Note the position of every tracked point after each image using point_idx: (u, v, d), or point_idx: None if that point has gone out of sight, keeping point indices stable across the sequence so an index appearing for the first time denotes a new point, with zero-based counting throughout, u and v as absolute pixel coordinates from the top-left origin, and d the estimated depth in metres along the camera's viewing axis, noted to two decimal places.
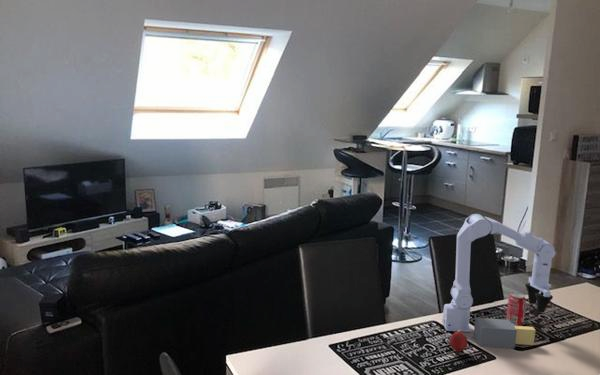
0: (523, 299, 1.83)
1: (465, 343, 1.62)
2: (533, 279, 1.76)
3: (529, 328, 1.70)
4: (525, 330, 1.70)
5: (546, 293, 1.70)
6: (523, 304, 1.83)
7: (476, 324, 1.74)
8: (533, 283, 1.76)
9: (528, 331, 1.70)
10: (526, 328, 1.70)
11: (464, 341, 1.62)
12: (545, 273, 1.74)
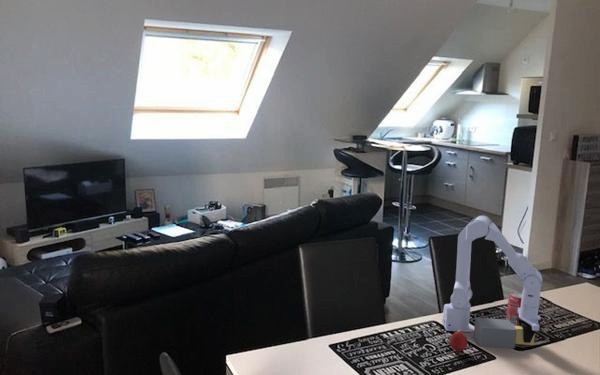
0: None
1: (465, 343, 1.62)
2: (522, 311, 1.69)
3: None
4: None
5: (535, 327, 1.63)
6: None
7: (476, 324, 1.74)
8: (522, 315, 1.69)
9: None
10: None
11: (464, 341, 1.62)
12: (530, 305, 1.66)
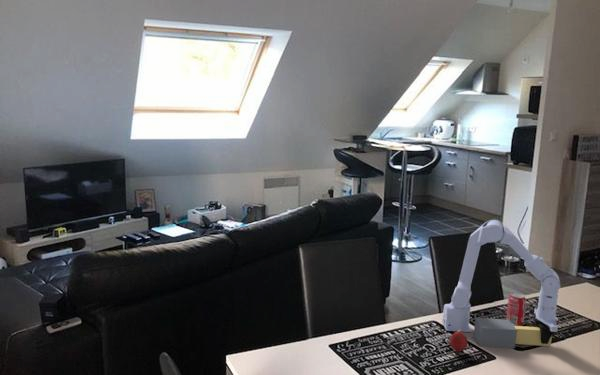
0: (523, 299, 1.83)
1: (465, 343, 1.62)
2: (539, 312, 1.69)
3: None
4: None
5: (553, 328, 1.63)
6: (523, 304, 1.83)
7: (476, 324, 1.74)
8: (539, 316, 1.69)
9: None
10: None
11: (464, 341, 1.62)
12: (549, 306, 1.66)
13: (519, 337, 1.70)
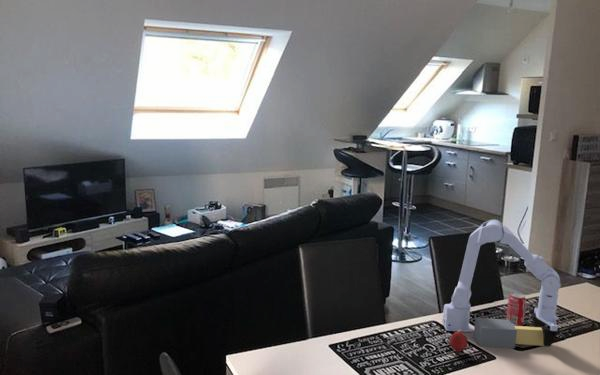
0: (523, 299, 1.83)
1: (465, 343, 1.62)
2: (539, 311, 1.68)
3: None
4: (542, 331, 1.69)
5: (553, 327, 1.62)
6: (523, 304, 1.83)
7: (476, 324, 1.74)
8: (539, 315, 1.68)
9: None
10: None
11: (464, 341, 1.62)
12: (549, 305, 1.66)
13: (519, 337, 1.70)
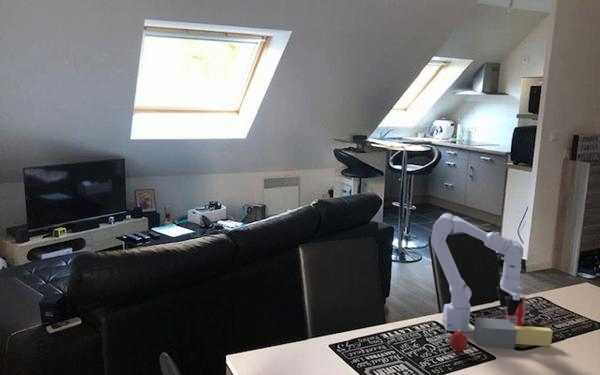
0: (523, 299, 1.83)
1: (465, 343, 1.62)
2: (503, 282, 1.72)
3: (546, 329, 1.70)
4: (542, 331, 1.69)
5: (515, 296, 1.66)
6: (523, 304, 1.83)
7: (476, 324, 1.74)
8: (503, 286, 1.72)
9: (545, 332, 1.69)
10: (543, 329, 1.70)
11: (464, 341, 1.62)
12: (512, 275, 1.69)
13: (519, 337, 1.70)
